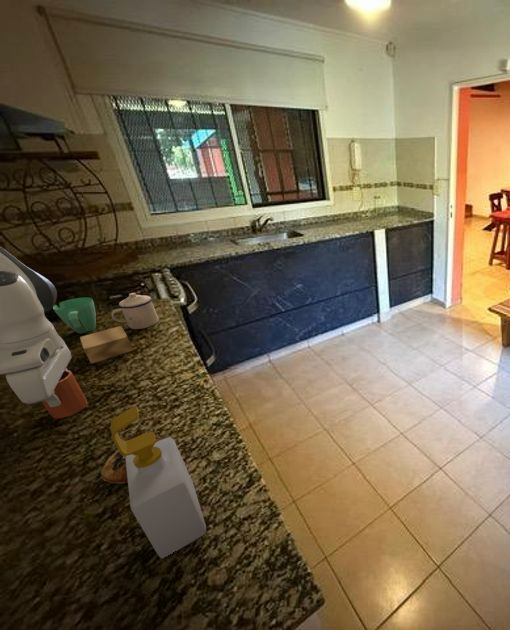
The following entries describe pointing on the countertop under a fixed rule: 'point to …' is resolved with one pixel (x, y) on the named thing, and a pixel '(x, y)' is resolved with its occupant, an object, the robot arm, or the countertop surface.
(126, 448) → the soap bottle
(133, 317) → the teacup with lid
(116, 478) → the bread roll
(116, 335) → the block
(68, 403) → the cup
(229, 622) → the countertop surface
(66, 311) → the mug
